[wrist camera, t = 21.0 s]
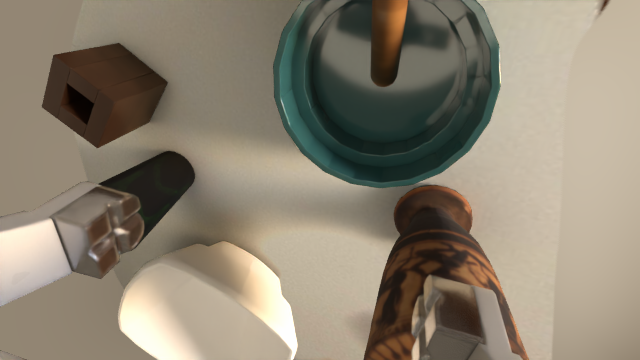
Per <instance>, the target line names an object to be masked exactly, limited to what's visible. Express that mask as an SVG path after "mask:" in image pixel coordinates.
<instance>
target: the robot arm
mask: <svg viewBox="0 0 640 360" xmlns="http://www.w3.org/2000/svg"><path fill="white" fill-rule="evenodd" d="M140 208H141V205H140V201H139V197H137V196H135V195H133V194H130V193H127V192H123V191H120V190H116V189H113V188H110V187H106V186H102V185H98V184H95V183H92V182H88V181H87V182H80V183H78V184H77V185H75V186H73V187H72V188H70V189H68V190H67V191H65V192H63V193H61V194H60V195H58V196H56V197H55V198H53V199H51V200H50V201H48V202H46V203H44V204H43V205H41V206H39V207H38V208H36V209H34V210H33V211H31V212H26V211H22V212H18V213H14V214H10V215H6V216H1V217H0V306H3V305H5V304H7V303H9V302H11V301H13V300H15V299H18V298H20V297H22V296H24V295H26V294H28V293H30V292H32V291H35V290H37V289H39V288H41V287H43V286H45V285H48V284H50V283H52V282H54V281H56V280H58V279H60V278H62V277H64V276H67V275H69V274H71V273H72V271H74V272H77V273H80V274H84V275H88V276H92V277H95V278H99V279H101V278H103V277H104V276H105V275H106V274H107V273H108V272H109V271H110V270H111V269H112V268H113V267H114V266H115V265H116V264H118V263H119V262H120V255H121V254H123V253H126V252H129V251H131V250H132V249H133V248H134V247H135V246H136V245H137V244H138V243H139V241H140V240H141V238H142V236H143V233H144V220H143V218H142V217H141V216H140V215H139V213H138V210H139V209H140ZM412 335H413V336H414V338H415V339H416V341H415V343H414V345H413V347H412V350H411V355H412V360H523V359H522V358H521V357H520V356H519V355H517V354H514V353H512V351H511V347H510V344H509V340H508V337H507V333H506V329H505V326H504V322H503V319H502V315H501V312H500V308H499V304H498V301H497V297H496V294H495V293H494V292H493V290H489V289H485V288H481V287H477V286H473V285H468V284H465V283H461V282H457V281H453V280H449V279H445V278H442V277H438V276H434V275H429V276H428V277H427V279H426V281H425V283H424V294H422V295H420V296H418V299H417V301H416V304H415V307H414V311H413V316H412ZM0 360H26V359H23V358H21V357H18V356H15V355H12V354H10V353H7V352H4V351H1V350H0Z"/></svg>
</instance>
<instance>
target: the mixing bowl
mask: <svg viewBox="0 0 640 360" xmlns="http://www.w3.org/2000/svg"><path fill="white" fill-rule="evenodd" d="M371 33H372V0H302V1H301V2H300V4H299V5H298V7H297V9H296V10H295V12H294V13H293V15H292V16H291V18H290V20H289V21H288V23H287V24H286V26H285V27H284V29H283V31H282V34H281V38H280V41H279V45H278V49H277V53H276V56H275V60H274V64H273V74H274V98H275V102H276V105H277V108H278V111H279V113H280V116H281V119H282V122H283V125H284V128H285V130H286V131H287V133H288V134H289V135H290V137H291V138H292V140H293V141H294V143H295V144H296V146H297V147H298V148H299V150H300V151H301V153H302V154H304V155H305V156H306V157H307V158H308V159H310V160H311V161H312V162H313V163H314V164H316V165H317V166H318V167H319V168H320V169H322V170H323V171H325V172H326V173H328V174H330V175H333V176H335V177H337V178H339V179H342V180H344V181H346V182H348V183H350V184H351V183H352V184H356V185H362V186H369V187H375V188H388V187H397V186H406V185H412V184H415V183H417V182H420V181H422V180H425V179H427V178H430V177H432V176H435V175H437V174H439V173H442V172H443V171H444V170H446V169H447V168H448V167H450V166H451V165H452V164H453V163H455V162H456V161H457V160H458V159H460V158H461V157H462V156H463V155H465V154H466V153H467V152H468V151H470V149H471V148H472V146H473V145H474V143H475V142H476V141H477V139H478V138H479V136H480V135H481V133H482V132H483V131H484V129H485V128H486V126H487V125H488V123H489V121H490V119H491V116H492V113H493V109H494V106H495V103H496V100H497V96H498V93H499V90H500V87H501V77H500V50H499V44H498V41H497V39H496V37H495V34H494V32H493V29H492V27H491V25H490V22H489V20H488V18H487V15H486V13H485V10H484V9H483V7H482V6H481V5H480V4H479V3H478V2H477V1H476V0H408V5H407V12H406V19H405V26H404V33H403V40H402V47H401V53H400V60H399V67H398V74H397V78H396V80H395V81H394V83H393V84H391V85H390V86H388V87H379V86H377V85H375V84H374V83H373V81H372V79H371V75H370V73H371Z"/></svg>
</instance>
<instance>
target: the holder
mask: <svg viewBox="0 0 640 360" xmlns="http://www.w3.org/2000/svg"><path fill="white" fill-rule="evenodd" d="M166 85H167V82H166V81H165V80H164V79H163V78H161V77H160V76H159V75H158V74H156V73H155V72H154V71H153V70H152V69H150V68H149V67H148V66H147V65H145V64H144V63H143V62H142V61H140V60H139V59H138V58H137V57H136V56H134V55H133V54H132V53H131V52H129V51H128V50H127V49H126V48H124V47H123V46H122V45H121V44H120V43H116V44H111V45H105V46H100V47H94V48H89V49H83V50H78V51H72V52H67V53H61V54H56V55H53V59H52V64H51V68H50V73H49V77H48V82H47V86H46V91H45V95H44V100H43V104H42V107H43V108H44V109H45V110H47V111H48V112H49V113H51V114H52V115H53V116H55V117H56V118H58V119H59V120H60V121H61V122H63V123H64V124H65V125H67V126H68V127H70V128H71V129H72V130H73V131H75V132H76V133H77V134H79V135H80V136H81V137H83V138H84V139H86V140H87V141H88V142H90V143H91V144H92V145H94V146H95V147H96V148H99V147H101V146H103V145H105V144H107V143H109V142H111V141H113V140H115V139H117V138H119V137H121V136H123V135H125V134H127V133H129V132H131V131H133V130H135V129H137V128H139V127H141V126H143V125H145V124H147V123H149V121H150V119H151V117H152V115H153V112H154V110H155V108H156V106H157V104H158V102H159V100H160V98H161V96H162V93H163V91H164V89H165V87H166Z"/></svg>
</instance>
